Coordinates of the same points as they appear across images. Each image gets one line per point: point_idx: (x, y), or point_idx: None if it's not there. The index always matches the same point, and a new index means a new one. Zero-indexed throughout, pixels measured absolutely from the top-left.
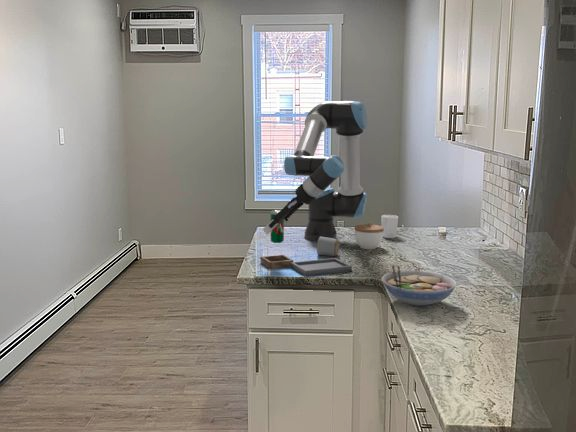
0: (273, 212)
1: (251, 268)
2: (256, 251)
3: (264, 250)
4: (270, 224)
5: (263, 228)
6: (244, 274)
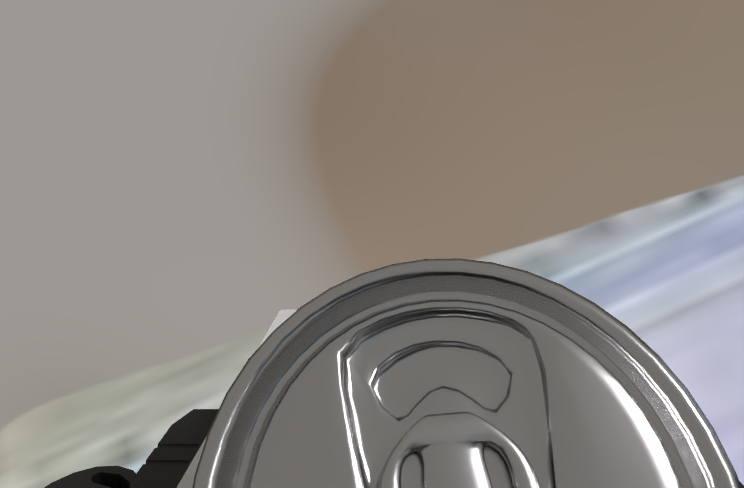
0: (236, 411)
1: (228, 386)
2: (667, 229)
3: (732, 262)
4: (159, 459)
5: (277, 319)
6: (59, 410)
